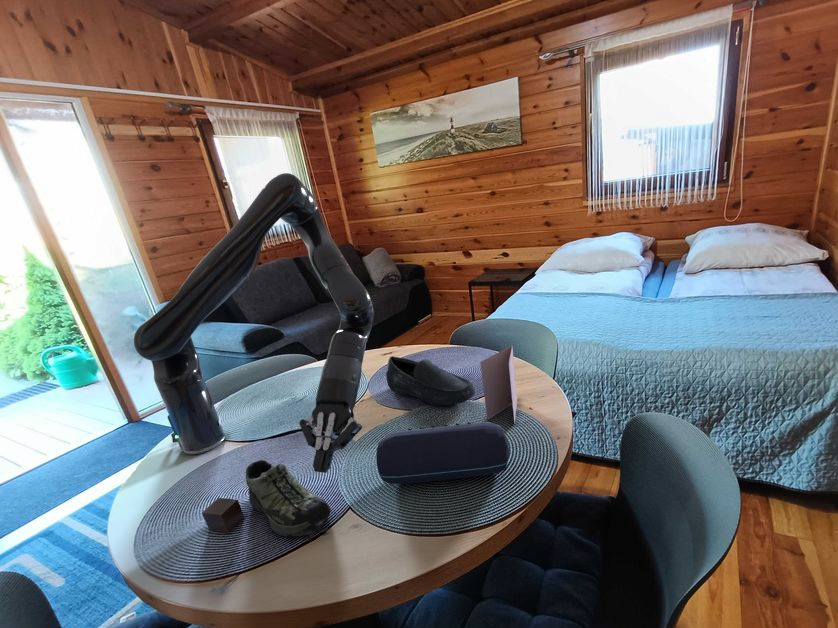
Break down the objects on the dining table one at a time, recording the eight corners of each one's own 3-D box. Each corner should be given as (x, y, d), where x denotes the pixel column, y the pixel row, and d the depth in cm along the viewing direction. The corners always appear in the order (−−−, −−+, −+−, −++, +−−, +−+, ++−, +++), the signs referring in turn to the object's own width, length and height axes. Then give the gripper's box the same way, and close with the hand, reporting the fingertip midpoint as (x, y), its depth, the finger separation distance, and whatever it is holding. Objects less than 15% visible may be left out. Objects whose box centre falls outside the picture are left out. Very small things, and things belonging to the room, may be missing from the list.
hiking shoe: (302, 551, 71) (287, 505, 67) (235, 509, 82) (219, 468, 79) (342, 517, 77) (331, 474, 74) (274, 483, 89) (261, 444, 85)
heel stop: (208, 530, 78) (201, 512, 77) (225, 514, 82) (218, 497, 80) (228, 532, 77) (221, 515, 75) (244, 516, 80) (237, 499, 79)
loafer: (464, 414, 106) (459, 376, 102) (377, 396, 121) (369, 362, 117) (484, 395, 114) (480, 359, 110) (400, 380, 129) (394, 349, 125)
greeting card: (514, 399, 110) (509, 344, 104) (538, 406, 105) (534, 349, 99) (484, 419, 102) (477, 361, 97) (508, 428, 97) (502, 367, 92)
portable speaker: (508, 452, 89) (503, 410, 85) (513, 484, 80) (508, 438, 76) (388, 465, 90) (379, 423, 86) (379, 497, 81) (368, 452, 77)
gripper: (378, 388, 87) (362, 477, 81) (321, 387, 91) (301, 472, 84) (360, 376, 80) (341, 471, 74) (300, 375, 84) (276, 466, 78)
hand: (320, 471), depth 79 cm, fingers closed
